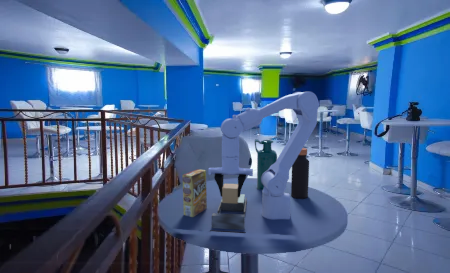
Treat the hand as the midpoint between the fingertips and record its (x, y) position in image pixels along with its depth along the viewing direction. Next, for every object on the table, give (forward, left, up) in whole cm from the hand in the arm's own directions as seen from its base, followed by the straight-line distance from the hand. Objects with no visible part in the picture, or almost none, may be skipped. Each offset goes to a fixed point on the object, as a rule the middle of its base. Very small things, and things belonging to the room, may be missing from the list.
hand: (230, 195), depth 95 cm
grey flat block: (0, -10, -7) cm, 12 cm away
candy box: (+13, -3, -9) cm, 16 cm away
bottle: (-26, -26, -9) cm, 38 cm away
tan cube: (0, -1, -2) cm, 2 cm away
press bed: (0, -3, -8) cm, 9 cm away
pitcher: (-12, -35, -9) cm, 38 cm away
